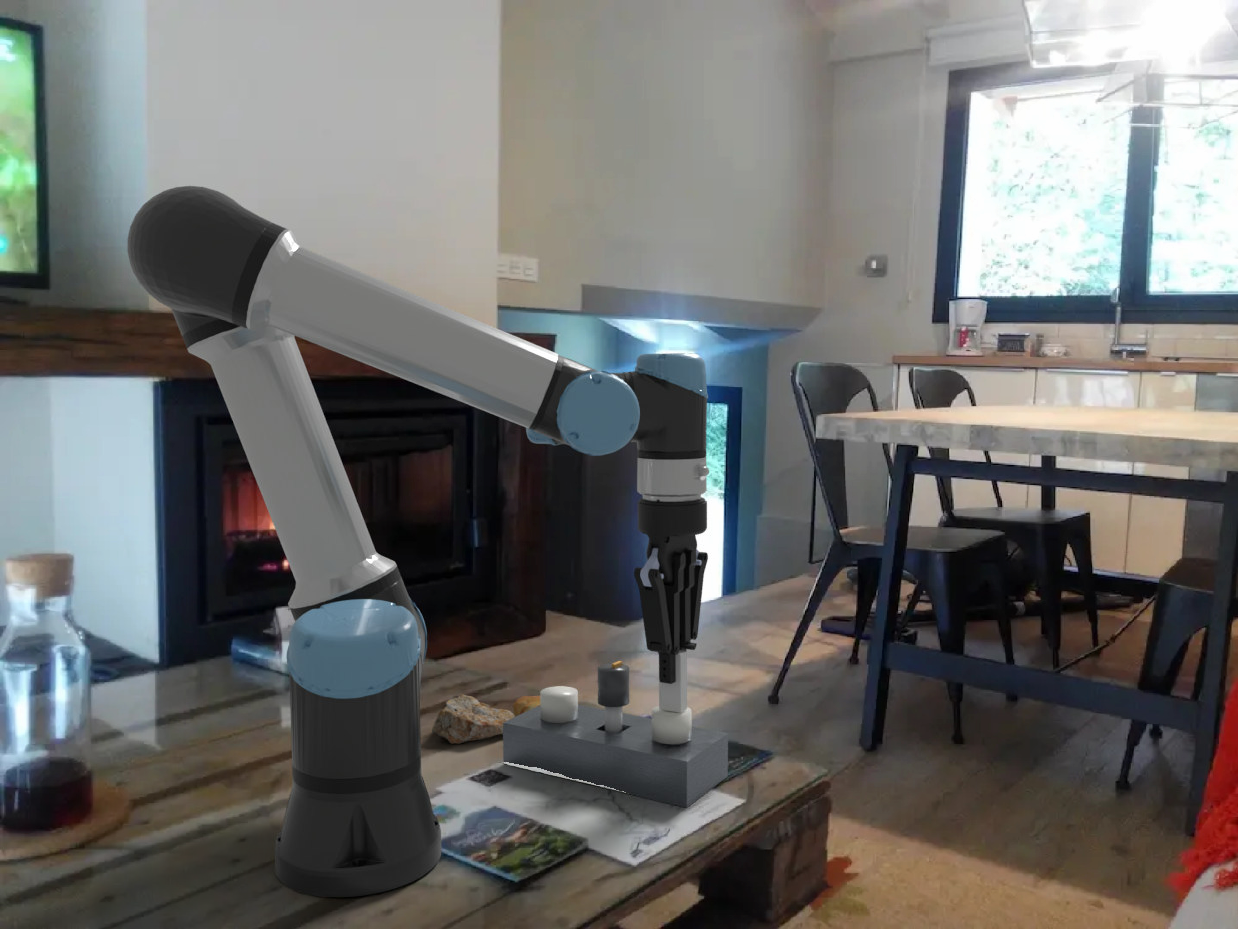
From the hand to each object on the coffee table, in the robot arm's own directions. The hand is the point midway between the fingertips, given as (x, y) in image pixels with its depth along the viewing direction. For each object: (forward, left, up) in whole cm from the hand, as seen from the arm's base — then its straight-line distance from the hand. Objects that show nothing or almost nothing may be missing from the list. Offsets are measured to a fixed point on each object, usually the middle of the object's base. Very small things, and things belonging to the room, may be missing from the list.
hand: (673, 708), depth 116 cm
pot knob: (0, +8, -5) cm, 9 cm away
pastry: (+9, +25, -9) cm, 28 cm away
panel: (0, +8, -9) cm, 11 cm away
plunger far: (0, +15, -8) cm, 17 cm away
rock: (+1, +29, -9) cm, 31 cm away
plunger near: (0, 0, -8) cm, 8 cm away
